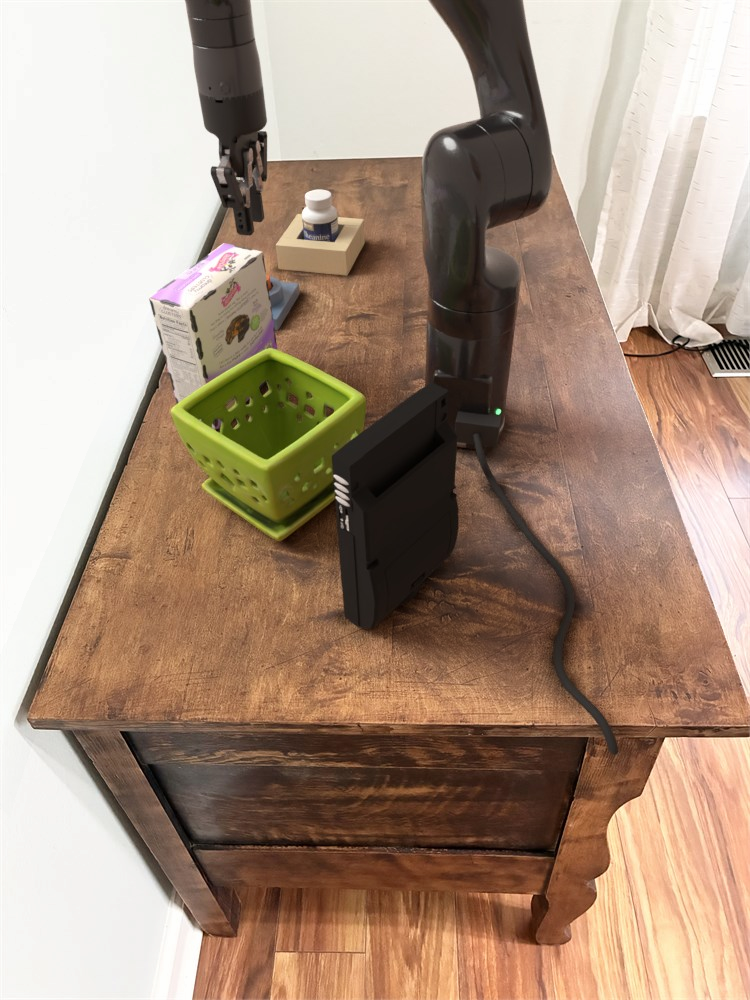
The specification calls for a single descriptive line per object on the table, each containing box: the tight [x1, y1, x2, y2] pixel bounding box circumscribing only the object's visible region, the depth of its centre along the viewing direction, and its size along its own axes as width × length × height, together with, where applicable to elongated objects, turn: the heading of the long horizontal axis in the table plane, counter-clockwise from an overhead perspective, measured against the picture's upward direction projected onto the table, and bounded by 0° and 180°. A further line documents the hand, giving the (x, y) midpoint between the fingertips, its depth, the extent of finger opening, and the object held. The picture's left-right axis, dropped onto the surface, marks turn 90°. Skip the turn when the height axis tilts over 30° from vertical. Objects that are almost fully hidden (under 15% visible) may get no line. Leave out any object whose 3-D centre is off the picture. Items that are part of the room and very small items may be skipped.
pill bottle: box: [301, 188, 339, 242], centre depth 115 cm, size 5×5×10 cm
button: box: [266, 272, 271, 290], centre depth 105 cm, size 3×3×2 cm
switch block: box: [269, 275, 301, 331], centre depth 107 cm, size 10×8×4 cm
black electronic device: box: [332, 382, 460, 630], centre depth 64 cm, size 12×5×20 cm, turn 139°
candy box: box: [148, 242, 278, 431], centre depth 88 cm, size 14×6×16 cm, turn 152°
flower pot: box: [170, 348, 367, 542], centre depth 76 cm, size 14×14×13 cm
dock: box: [275, 213, 366, 276], centre depth 117 cm, size 11×11×4 cm
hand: (250, 226), depth 99 cm, fingers open, 3 cm apart
